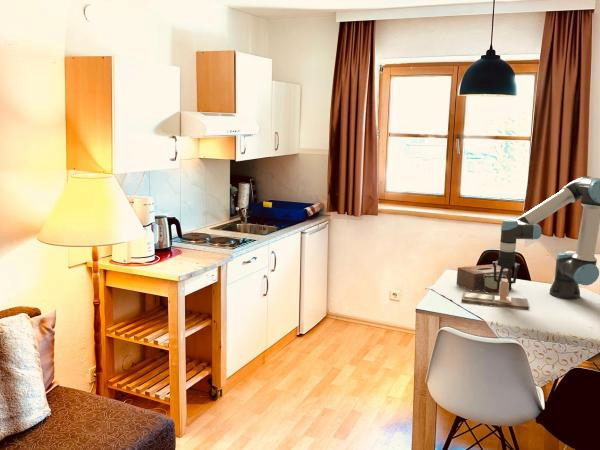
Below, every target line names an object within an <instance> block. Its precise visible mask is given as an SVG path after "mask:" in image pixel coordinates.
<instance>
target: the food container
mask: <svg viewBox="0 0 600 450" xmlns="http://www.w3.org/2000/svg"><path fill="white" fill-rule="evenodd" d="M498 277H499V273H496V279H498ZM483 278H484V284H485V290H484V293H485V292H489V294H499V289H497V282H496V281H494V273H493V272H489V273H485V274H484V276H483ZM501 278H503V279H507V277H506V275H504V274H502V276H501ZM500 282H501V280H500Z"/></svg>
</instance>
